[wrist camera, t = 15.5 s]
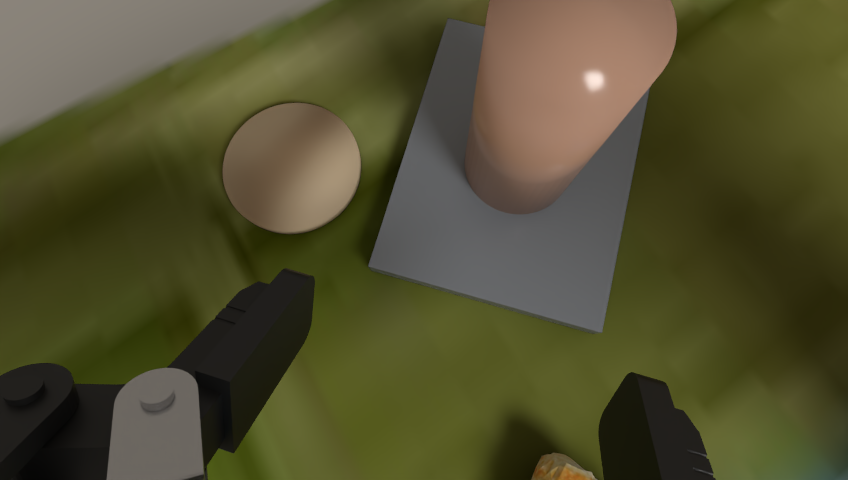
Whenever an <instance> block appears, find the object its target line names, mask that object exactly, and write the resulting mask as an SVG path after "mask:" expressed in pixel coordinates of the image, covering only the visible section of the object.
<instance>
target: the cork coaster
mask: <svg viewBox="0 0 848 480" xmlns="http://www.w3.org/2000/svg"><path fill="white" fill-rule="evenodd" d="M360 177H361V157H360V152H359V149H358V146H357V143H356V140H355V138H354V136H353V134H352V132H351V131H350V129H349V128H348V127H347V125H346V124H345V123H344V122H343V121H342V120H341V119H340V118H339V117H337V116H336V115H335V114H333V113H332V112H330V111H328V110H326V109H324V108H322V107H319V106H316V105H312V104H306V103H286V104H281V105H277V106H273V107H270V108H268V109H266V110H263V111H261V112H260V113H258V114H256V115H255V116H253V117H252V118H250V119H249V120H248V121H247V122H246V123H245V124H243V125H242V126H241V128H240V129H239V130H238V131H237V132H236V134H235V135H234V137H233V138H232V140H231V142H230V144H229V146H228V148H227V151H226V153H225V157H224V162H223V182H224V186H225V190H226V193H227V195H228V197H229V199H230V201H231V203H232V204H233V206H234V207H235V208H236V209H237V211H238V212H239V213H240V214H241V215H242V216H244V217H245V218H246V219H248V220H249V221H251V222H252V223H253V224H255V225H257V226H258V227H260V228H262V229H265V230H268V231H270V232H275V233H280V234H299V233H305V232H309V231H312V230H315V229H318V228H320V227H322V226H324V225H326V224H328V223H329V222H331V221H332V220H334V219H335V218H336V217H337V216H339V215H340V214H341V213H342V212H343V211H344V210H345V208H346V207H347V206H348V205H349V203H350V202H351V200H352V198H353V197H354V195H355V193H356V190H357V188H358V185H359V181H360Z"/></svg>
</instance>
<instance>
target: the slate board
mask: <svg viewBox="0 0 848 480" xmlns="http://www.w3.org/2000/svg"><path fill="white" fill-rule="evenodd" d="M484 31H485V27H484V26H479V25H475V24H471V23H466V22H462V21H458V20H454V19H449V18H448V20H447V23H446V26H445V29H444V32H443V35H442V38H441V41H440V45H439V48H438V51H437V54H436V57H435V60H434V63H433V66H432V69H431V72H430V76H429V79H428V82H427V85H426V88H425V91H424V94H423V97H422V100H421V104H420V107H419V110H418V113H417V116H416V119H415V122H414V125H413V128H412V132H411V135H410V138H409V141H408V144H407V147H406V150H405V153H404V156H403V160H402V163H401V166H400V169H399V172H398V175H397V178H396V181H395V184H394V188H393V191H392V194H391V197H390V200H389V203H388V206H387V209H386V212H385V216H384V219H383V222H382V225H381V228H380V231H379V234H378V237H377V240H376V244H375V247H374V250H373V253H372V256H371V259H370V262H369V265H368V267H369V268H370V269H371V271H375V272H378V273H382V274H385V275H389V276H392V277H396V278H399V279H403V280H406V281H410V282H413V283H417V284H420V285H424V286H427V287H431V288H434V289H438V290H441V291H445V292H448V293H452V294H455V295H459V296H462V297H466V298H469V299H473V300H476V301H480V302H483V303H487V304H490V305H494V306H497V307H501V308H504V309H508V310H511V311H515V312H518V313H522V314H525V315H529V316H532V317H536V318H539V319H543V320H546V321H550V322H553V323H557V324H560V325H564V326H567V327H571V328H574V329H578V330H581V331H585V332H588V333H592V334H595V333H602V330H603V325H604V320H605V315H606V309H607V304H608V299H609V294H610V289H611V284H612V279H613V274H614V269H615V263H616V258H617V253H618V248H619V243H620V238H621V233H622V228H623V223H624V218H625V212H626V207H627V202H628V197H629V192H630V187H631V182H632V177H633V172H634V166H635V161H636V156H637V151H638V146H639V141H640V136H641V131H642V126H643V120H644V115H645V110H646V105H647V100H648V95H649V90H650V87H649V89H648V90H647V91H646V92H645V93H644V95H643V96H642V97H641V98H640V99H639V101H638V102H637V103H636V104H635V106H634V107H633V108H632V109H631V110H630V112H629V113H628V114H627V115H626V117H625V118H624V119H623V120H622V121H621V123H620V124H619V125H618V126H617V128H616V129H615V130H614V131H613V132H612V134H611V135H610V136H609V137H608V139H607V140H606V141H605V142H604V143H603V145H602V146H601V147H600V148H599V149H598V151H597V152H596V153H595V154H594V156H593V157H592V158H591V159H590V160H589V162H588V163H587V164H586V165H585V167H584V168H583V169H582V170H581V171H580V173H579V174H578V175H577V176H576V178H575V179H574V180H573V181H572V182H571V184H570V185H569V186H568V187H567V189H566V190H565V191H564V192H563V193H562V195H561V196H560V197H559V198H558V199H557V200H556V201H555V202H554V203H553V204H551V205H550V206H548V207H547V208H545V209H542V210H540V211H537V212H534V213H529V214H510V213H505V212H502V211H499V210H496V209H494V208H492V207H490V206H489V205H487V204H486V203H484V202H483V201H482V200H481V199H480V198H479V197H478V196H477V195H476V194H475V192H474V191H473V190H472V188H471V186H470V184H469V182H468V180H467V177H466V173H465V166H464V160H465V152H466V145H467V139H468V133H469V126H470V120H471V114H472V107H473V101H474V94H475V88H476V82H477V75H478V69H479V63H480V56H481V50H482V44H483V37H484Z"/></svg>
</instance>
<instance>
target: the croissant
mask: <svg viewBox="0 0 848 480" xmlns="http://www.w3.org/2000/svg"><path fill="white" fill-rule="evenodd" d="M531 480H597V479H596V478H595V477H594V476H593V474H592V472H589V471H586V470H584V469H583V468H582V467H581V466H579V465H578V464H577V463H576V462H575V461H574V460H572V459H571V458H570V457H568V456H566V455H564V454H559V453H552V454H547V455H543V456H541V458H540V460H539V462H538V464H537V466H536V468H535V471H534V473H533V476H532V479H531Z"/></svg>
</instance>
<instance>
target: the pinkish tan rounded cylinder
mask: <svg viewBox="0 0 848 480" xmlns="http://www.w3.org/2000/svg"><path fill="white" fill-rule="evenodd" d="M676 35H677V22H676V16H675V11H674V8H673V5H672V2H671V0H490V2H489V7H488V12H487V18H486V24H485V31H484V37H483V44H482V50H481V56H480V63H479V69H478V75H477V82H476V88H475V94H474V101H473V107H472V114H471V120H470V126H469V133H468V139H467V145H466V152H465V160H464V166H465V173H466V177H467V180H468V182H469V184H470V186H471V188H472V190H473V191H474V192H475V194H476V195H477V196H478V197H479V198H480V199H481V200H482V201H483V202H484V203H486V204H487V205H489V206H490V207H492V208H494V209H496V210H499V211H502V212H505V213H510V214H529V213H534V212H537V211H540V210H542V209H545V208H547V207H548V206H550V205H551V204H553V203H554V202H555V201H556V200H557V199H558V198H559V197H560V196H561V195H562V193H563V192H564V191H565V190H566V189H567V187H568V186H569V185H570V184H571V182H572V181H573V180H574V179H575V178H576V176H577V175H578V174H579V173H580V171H581V170H582V169H583V168H584V167H585V165H586V164H587V163H588V162H589V160H590V159H591V158H592V157H593V156H594V154H595V153H596V152H597V151H598V149H599V148H600V147H601V146H602V145H603V143H604V142H605V141H606V140H607V139H608V137H609V136H610V135H611V134H612V132H613V131H614V130H615V129H616V128H617V126H618V125H619V124H620V123H621V121H622V120H623V119H624V118H625V117H626V115H627V114H628V113H629V112H630V110H631V109H632V108H633V107H634V106H635V104H636V103H637V102H638V101H639V99H640V98H641V97H642V96H643V95H644V93H645V92H646V91H647V90H648V89H649V87H650V86H651V85H652V84H653V82H654V81H655V80H656V79H657V78H658V76H659V75H660V74H661V73H662V71H663V70H664V68H665V67H666V65H667V64H668V62H669V60H670V58H671V56H672V53H673V50H674V47H675V43H676Z"/></svg>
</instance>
